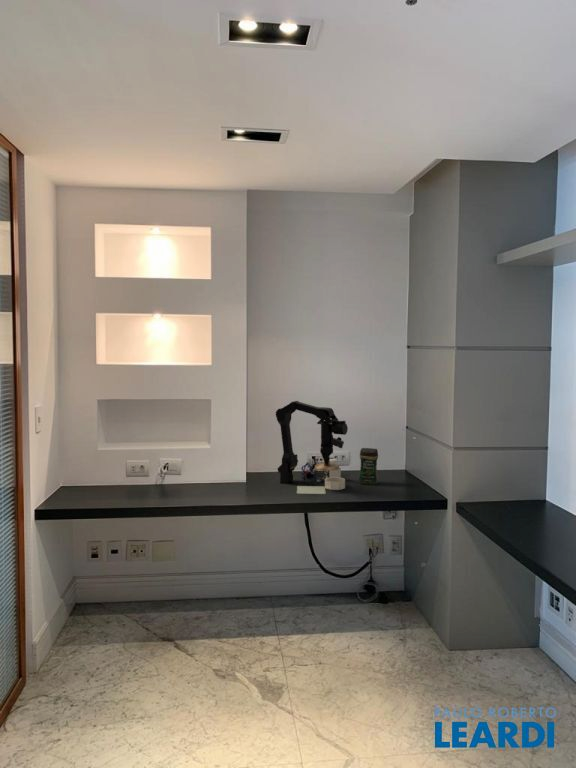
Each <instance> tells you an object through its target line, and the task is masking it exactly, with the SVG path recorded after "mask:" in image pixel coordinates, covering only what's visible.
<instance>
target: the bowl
mask: <svg viewBox="0 0 576 768" xmlns="http://www.w3.org/2000/svg"><path fill="white" fill-rule="evenodd" d="M324 486H325V489H327V490H332V491H334V490H335V491H339V490H343V489H346V479H345V478H343V477H341V478H340V477H329V478H325V480H324Z"/></svg>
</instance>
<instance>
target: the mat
mask: <svg viewBox="0 0 576 768" xmlns="http://www.w3.org/2000/svg"><path fill="white" fill-rule="evenodd" d="M296 494H299V495H300V494H301V495H306V494H308V495H311V494H312V495H326V494H327V493H326V488H325V485H323V486H322V485H321V486H320V485H319V486H318V485H315V486H312V485H308V486H307V485H297V486H296Z"/></svg>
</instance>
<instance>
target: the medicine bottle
mask: <svg viewBox="0 0 576 768" xmlns="http://www.w3.org/2000/svg"><path fill="white" fill-rule="evenodd" d="M329 458H330V463H331V464H337V465H338V459H337V458H336V457H329ZM341 469H342V468H341V467H339V469H337V470H333V471H322V480H323V479H324V480H323V481H325V478H329V477H340V478H342V477H341V476H342V474H341V473H342V472H341Z"/></svg>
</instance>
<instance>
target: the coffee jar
mask: <svg viewBox="0 0 576 768" xmlns="http://www.w3.org/2000/svg"><path fill="white" fill-rule="evenodd" d="M378 453H379V451H378V449H377V448H373V447H371V448H369V447H362V448H360V451H359V460H360V467H359V468H360V469H359V477H358V483H359V484H362V485H368V484H369V486H372V485H377V483H379V482H378V480H379V479H378V467H377V466H378V459H379V454H378Z"/></svg>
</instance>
